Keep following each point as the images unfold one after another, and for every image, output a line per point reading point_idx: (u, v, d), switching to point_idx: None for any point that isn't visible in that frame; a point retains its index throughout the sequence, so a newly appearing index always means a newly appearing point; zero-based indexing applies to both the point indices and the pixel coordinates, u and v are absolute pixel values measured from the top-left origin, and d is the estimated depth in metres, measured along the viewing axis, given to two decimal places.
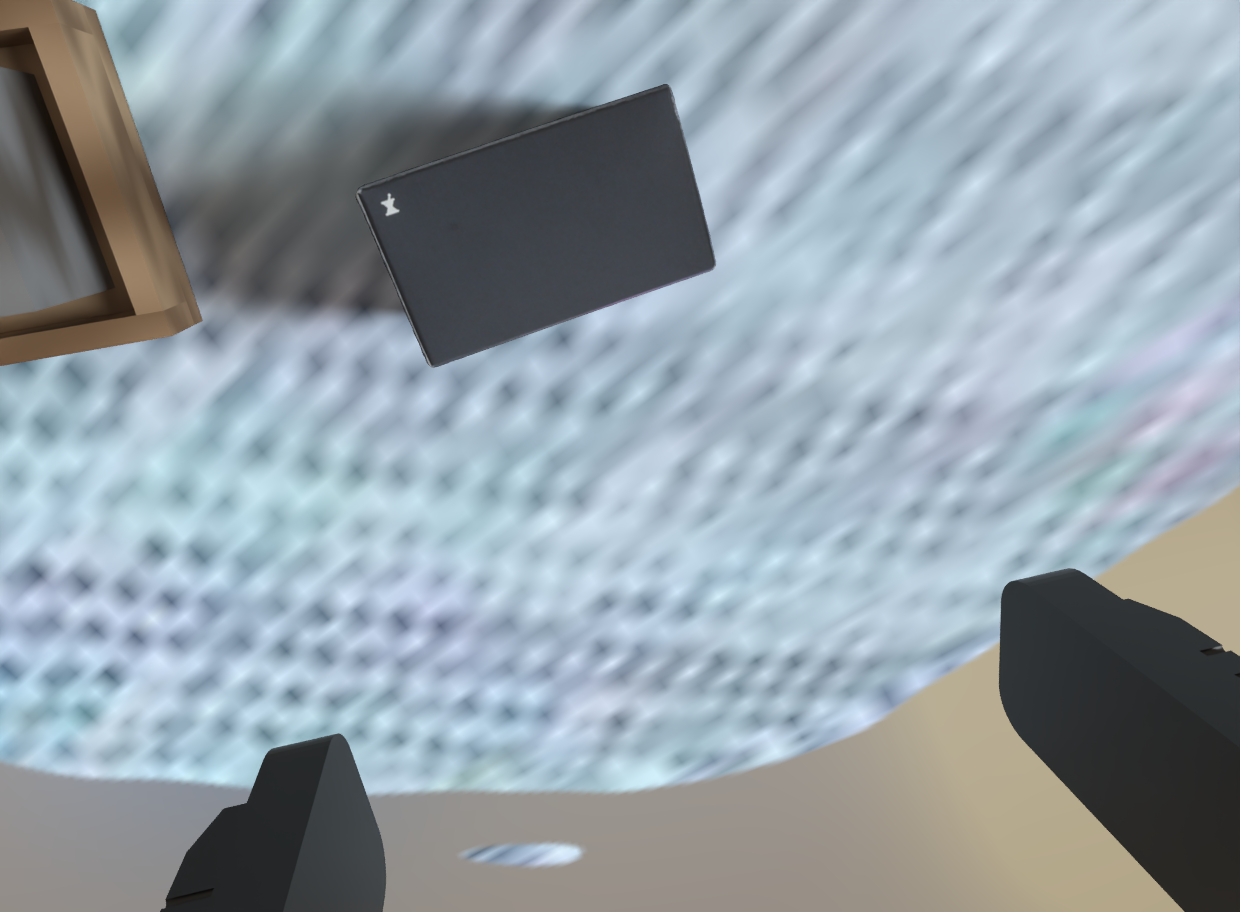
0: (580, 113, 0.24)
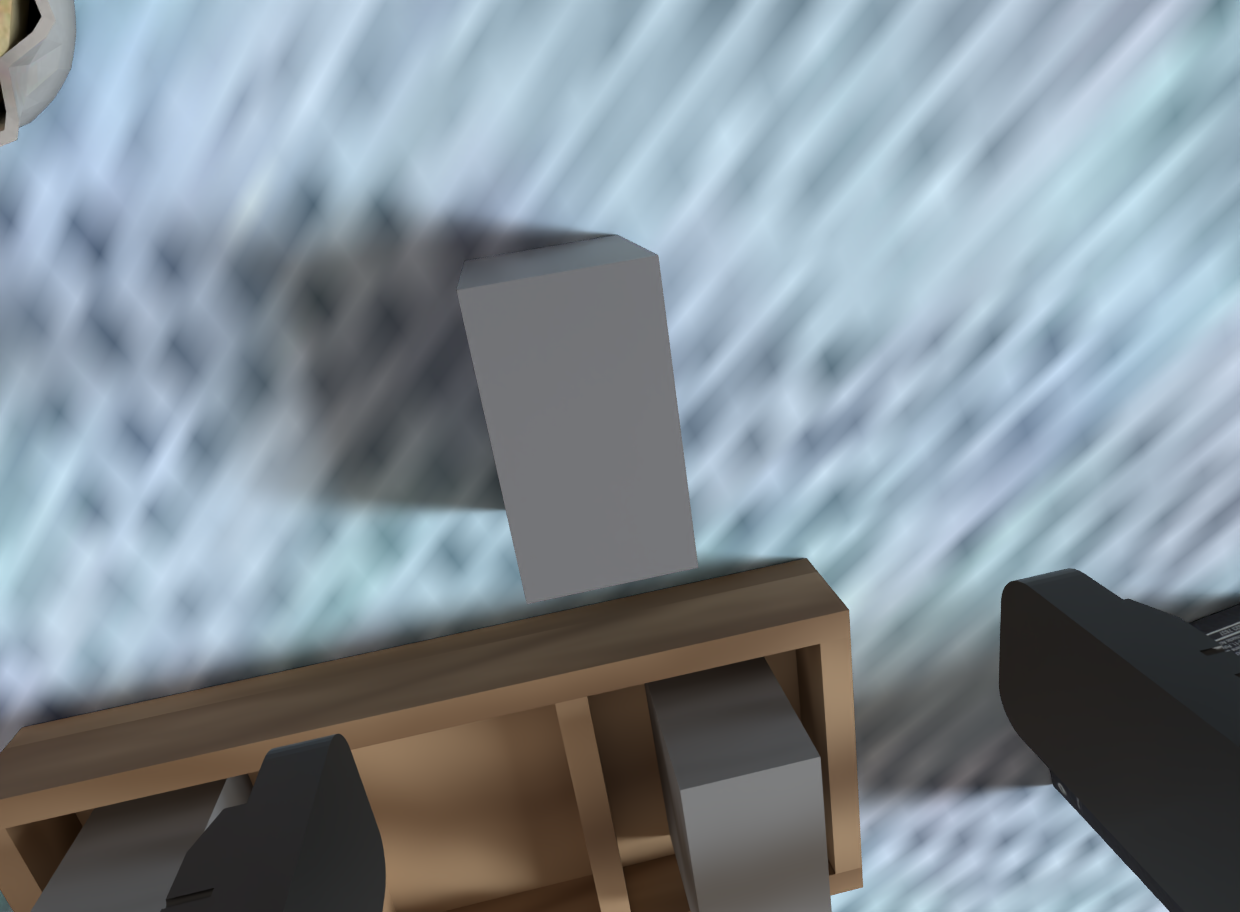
0: None
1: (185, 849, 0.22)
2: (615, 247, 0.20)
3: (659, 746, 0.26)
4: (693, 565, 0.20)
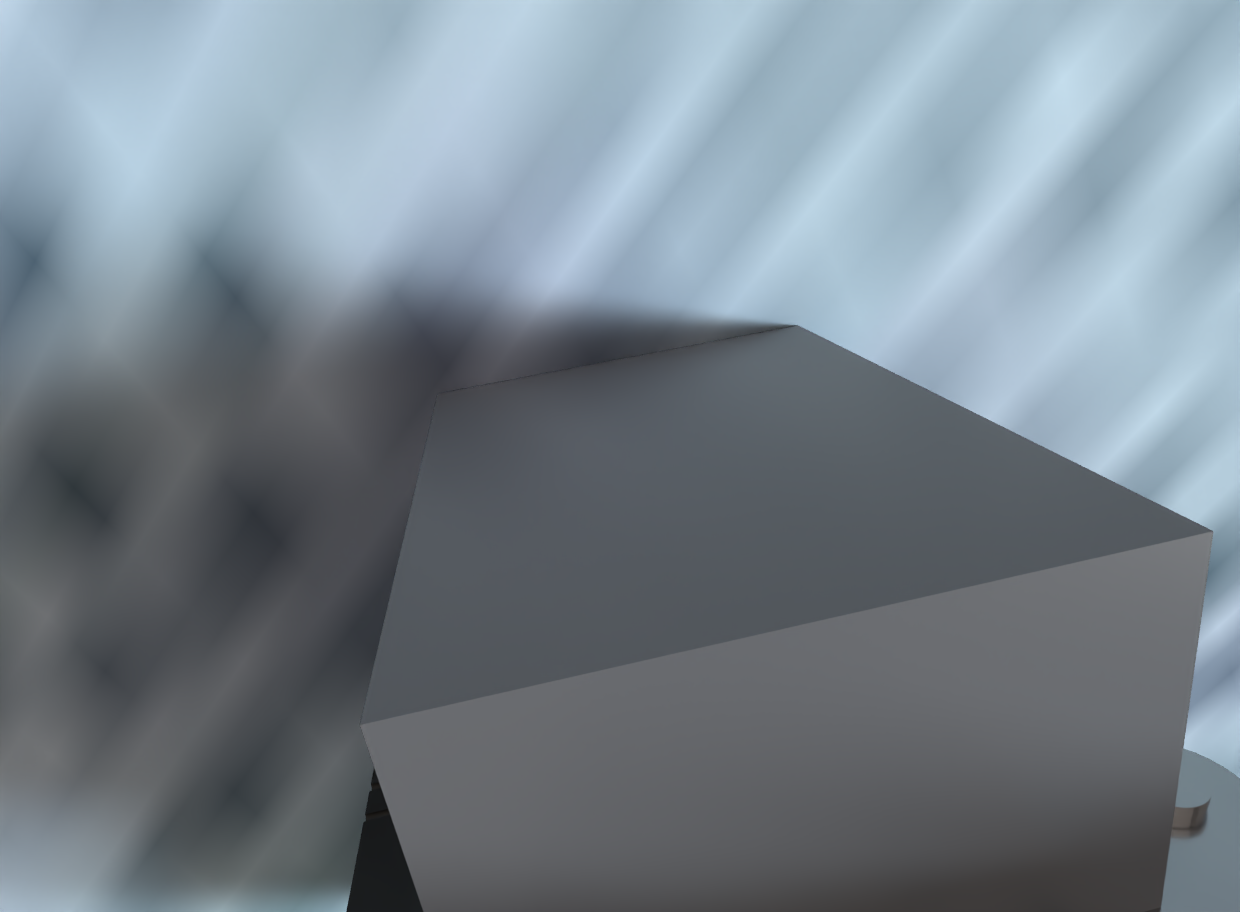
0: None
1: None
2: (872, 403, 0.07)
3: None
4: None
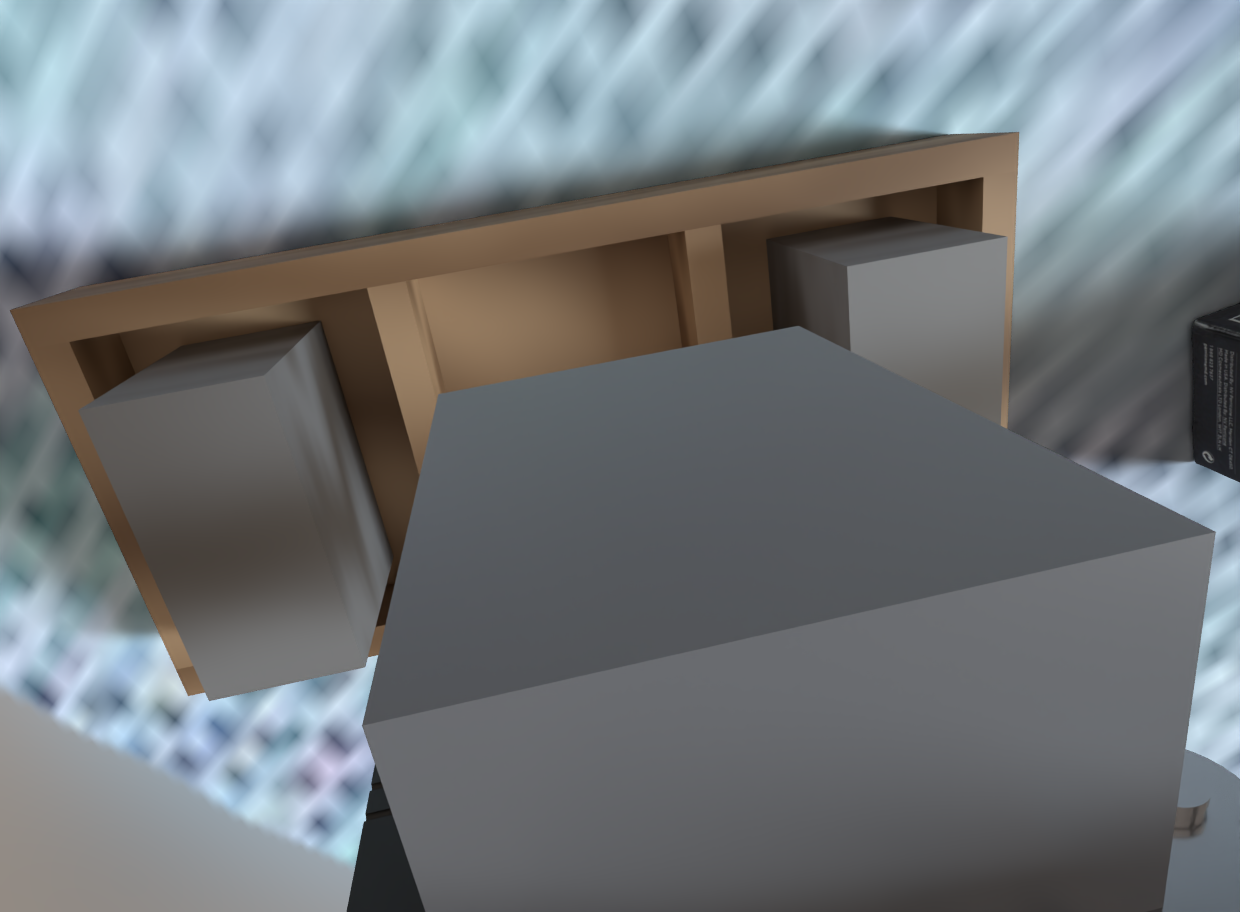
0: None
1: (274, 354, 0.19)
2: (874, 403, 0.07)
3: (792, 317, 0.23)
4: None
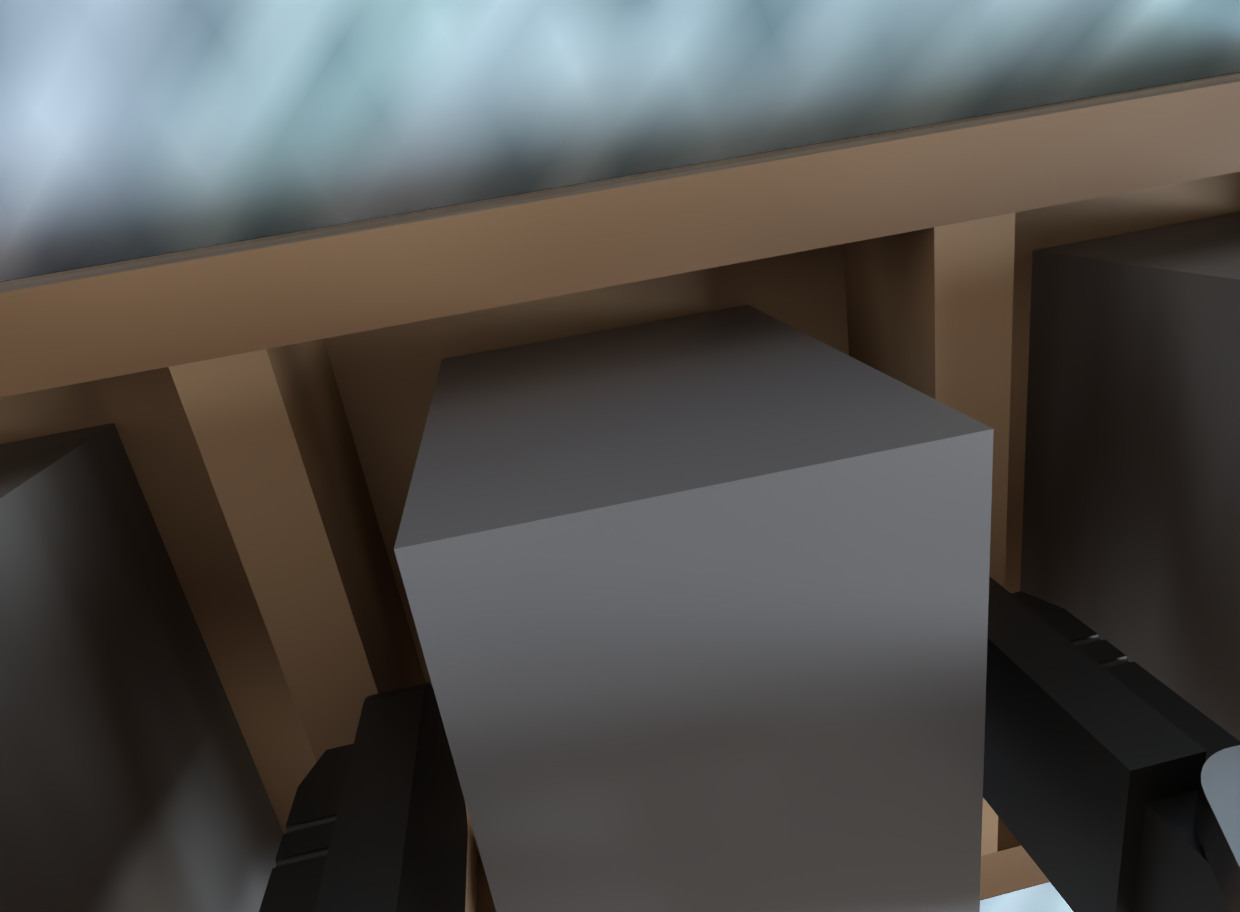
0: None
1: None
2: (790, 358, 0.08)
3: (1116, 412, 0.11)
4: None
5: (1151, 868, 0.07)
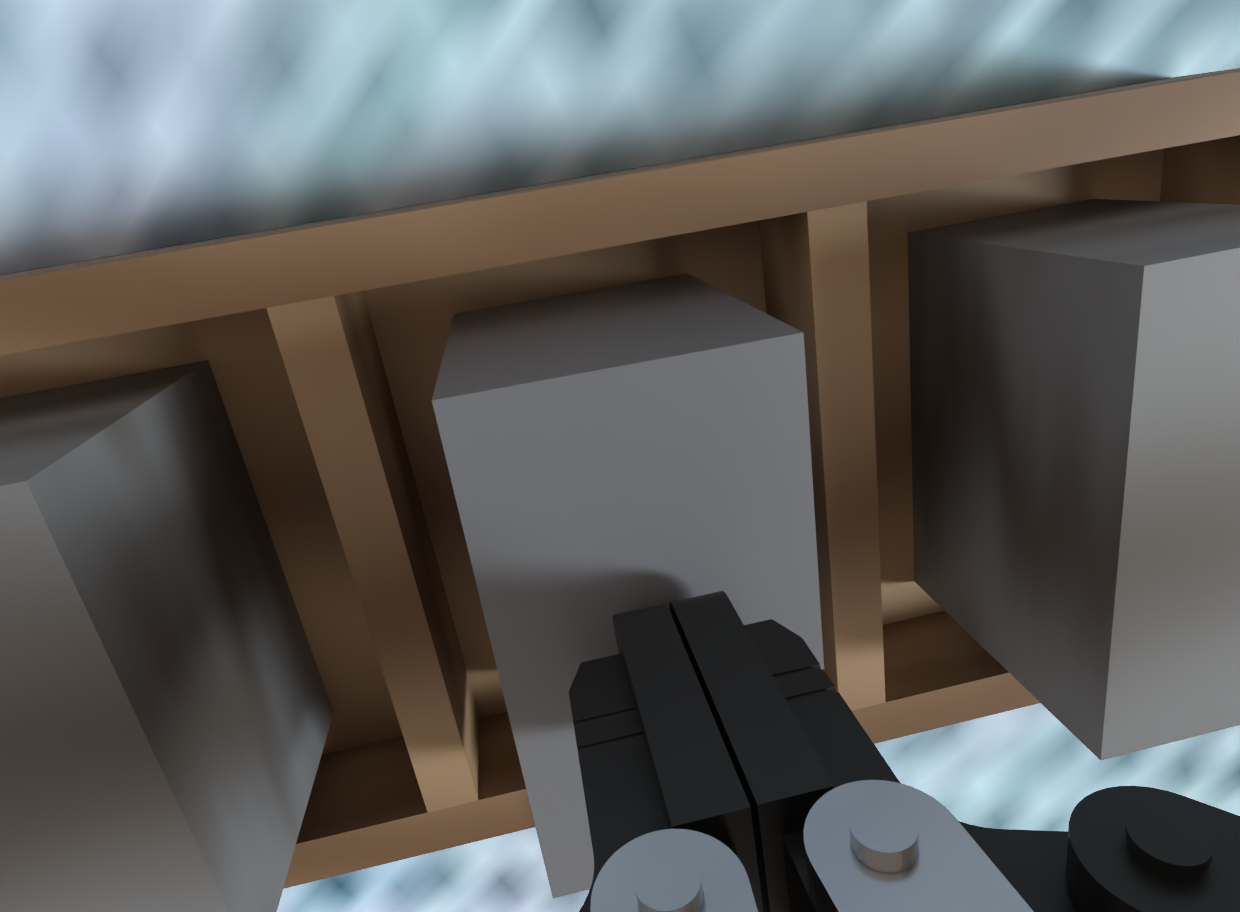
0: None
1: (87, 428, 0.11)
2: (701, 303, 0.12)
3: (961, 353, 0.14)
4: None
5: (792, 897, 0.07)
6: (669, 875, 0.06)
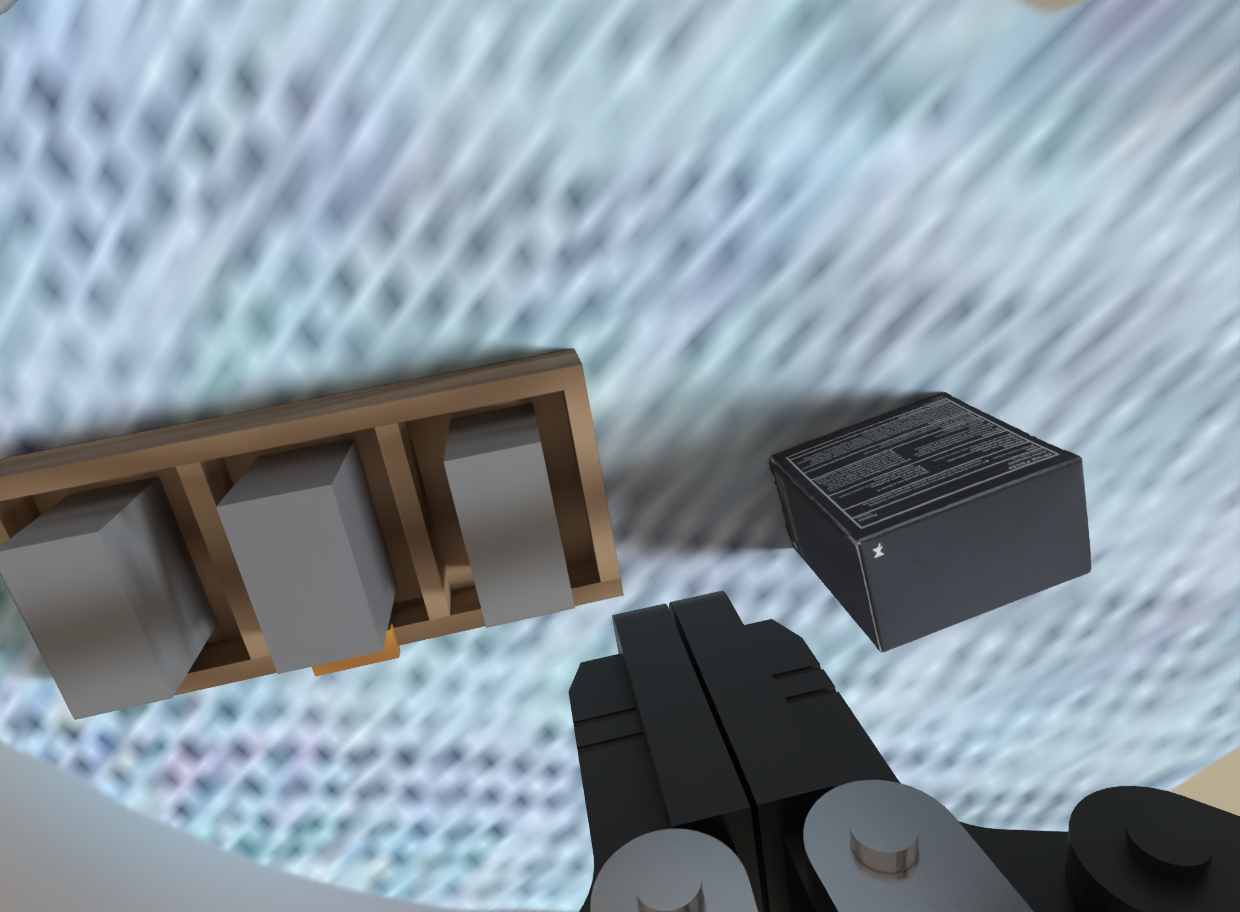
0: (1017, 480, 0.32)
1: (114, 511, 0.32)
2: (331, 463, 0.34)
3: None
4: (379, 650, 0.34)
5: (792, 897, 0.07)
6: (668, 875, 0.06)
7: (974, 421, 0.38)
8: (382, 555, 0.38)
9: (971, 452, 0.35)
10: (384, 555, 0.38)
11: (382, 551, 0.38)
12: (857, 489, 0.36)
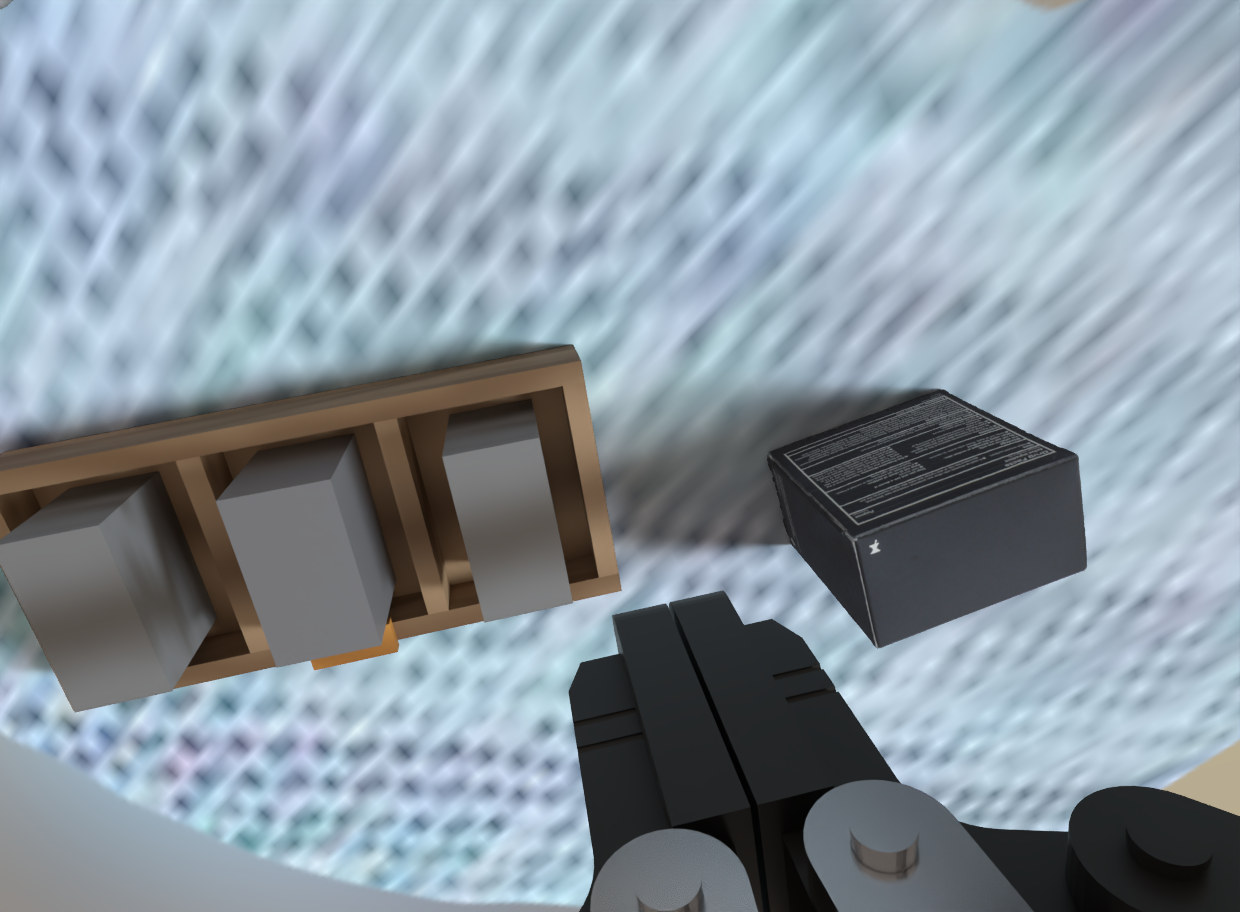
0: (1013, 477, 0.33)
1: (114, 505, 0.32)
2: (330, 457, 0.34)
3: None
4: (378, 644, 0.34)
5: (791, 897, 0.07)
6: (669, 875, 0.06)
7: (971, 418, 0.38)
8: (381, 550, 0.38)
9: (968, 449, 0.36)
10: (383, 550, 0.38)
11: (381, 546, 0.38)
12: (854, 486, 0.36)
